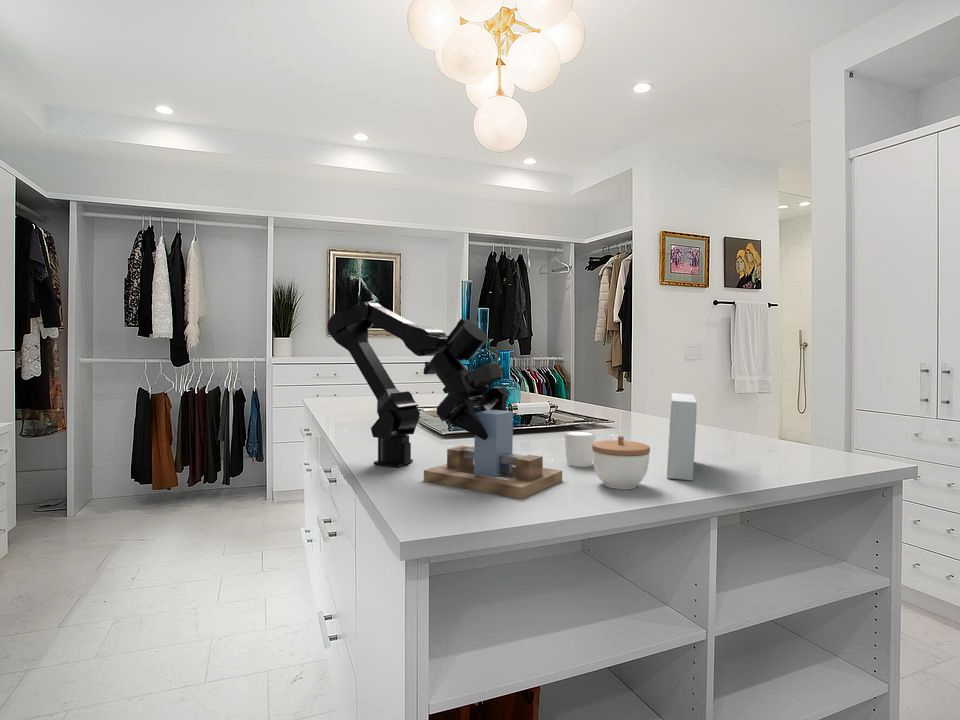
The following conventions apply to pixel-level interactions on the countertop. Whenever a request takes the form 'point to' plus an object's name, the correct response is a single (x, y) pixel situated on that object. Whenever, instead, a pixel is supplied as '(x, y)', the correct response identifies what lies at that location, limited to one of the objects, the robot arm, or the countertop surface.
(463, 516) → the countertop surface
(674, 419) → the skincare box
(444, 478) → the wooden block stand
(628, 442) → the lidded jar
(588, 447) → the white cup
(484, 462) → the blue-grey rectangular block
